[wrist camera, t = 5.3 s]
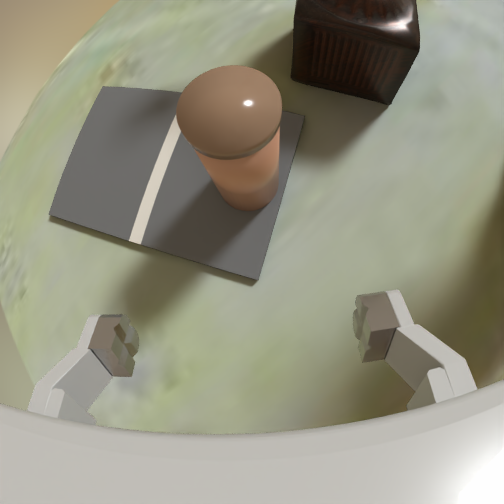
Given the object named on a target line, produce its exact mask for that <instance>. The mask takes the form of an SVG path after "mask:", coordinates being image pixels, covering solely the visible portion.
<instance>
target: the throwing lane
mask: <svg viewBox="0 0 504 504" xmlns="http://www.w3.org/2000/svg"><path fill="white" fill-rule="evenodd" d="M181 94H182V93H180V92H172V91H162V90H152V89H140V88H125V87H105V86H103V87H102V89H101V91H100V93H99V94H98V96H97V98H96V100H95V102H94V104H93V106H92V108H91V110H90V112H89V114H88V116H87V118H86V120H85V123H84V125H83V127H82V129H81V131H80V133H79V136H78V138H77V140H76V142H75V145H74V147H73V149H72V152H71V154H70V157H69V159H68V162H67V164H66V167H65V169H64V172H63V174H62V177H61V180H60V183H59V185H58V188H57V191H56V194H55V197H54V200H53V203H52V206H51V209H50V212H49V215H52V216H55V217H58V218H61V219H64V220H67V221H70V222H73V223H76V224H79V225H82V226H85V227H88V228H91V229H94V230H97V231H100V232H103V233H106V234H109V235H112V236H115V237H119V238H122V239H125V240H128V241H131V242H134V243H137V244H140V245H144V246H147V247H150V248H153V249H156V250H160V251H163V252H166V253H169V254H172V255H176V256H179V257H182V258H185V259H189V260H192V261H195V262H198V263H202V264H205V265H208V266H212V267H215V268H218V269H222V270H225V271H228V272H232V273H235V274H238V275H242V276H245V277H249V278H252V279H255V280H259V276H260V273H261V269H262V266H263V262H264V259H265V256H266V252H267V249H268V245H269V242H270V238H271V235H272V231H273V228H274V225H275V221H276V218H277V214H278V211H279V207H280V204H281V200H282V197H283V193H284V190H285V186H286V182H287V179H288V175H289V172H290V168H291V165H292V161H293V158H294V154H295V150H296V147H297V143H298V140H299V136H300V133H301V129H302V125H303V122H304V117H305V116H303V115H299V114H295V113H291V112H287V111H282V117H281V123H280V138H279V186H278V190H277V193H276V195H275V197H274V198H273V199H272V201H271V202H270V203H269V204H267V205H266V206H264V207H263V208H260V209H258V210H254V211H242V210H238V209H235V208H233V207H231V206H230V205H229V204H228V203H226V201H225V200H224V199H223V197H222V196H221V194H220V192H219V191H218V189H217V187H216V186H215V184H214V182H213V181H212V179H211V177H210V175H209V174H208V172H207V170H206V169H205V167H204V165H203V164H202V162H201V160H200V158H199V157H198V155H197V153H196V152H195V150H194V148H192V146H191V145H190V144H189V143H188V142H187V140H186V138H185V137H184V135H183V134H182V132H181V130H180V128H179V126H178V123H177V119H176V108H177V104H178V101H179V98H180V96H181Z"/></svg>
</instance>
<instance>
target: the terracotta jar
mask: <svg viewBox="0 0 504 504" xmlns="http://www.w3.org/2000/svg"><path fill="white" fill-rule="evenodd" d="M281 117H282V100H281V95H280V92H279V90H278V88H277V86H276V85H275V83H274V82H273V81H272V80H271V79H270V78H269V77H268V76H267V75H265V74H264V73H262V72H260V71H258V70H256V69H253V68H250V67H246V66H238V65H230V66H223V67H218V68H215V69H211V70H209V71H207V72H205V73H203V74H201V75H199V76H198V77H197V78H195V79H194V80H193V81H192V82H190V83H189V85H188V86H187V87H186V88H185V89H184V91H183V92H182V94H181V96H180V98H179V101H178V104H177V108H176V119H177V123H178V126H179V128H180V130H181V132H182V134H183V135H184V137H185V138H186V140H187V142H188V143H189V144H190V145H191V146H192V148H194V150H195V152H196V153H197V155H198V157H199V158H200V160H201V162H202V164H203V165H204V167H205V169H206V170H207V172H208V174H209V175H210V177H211V179H212V181H213V182H214V184H215V186H216V187H217V189H218V191H219V192H220V194H221V196H222V197H223V199H224V200H225V201H226V203H228V204H229V205H230V206H231V207H233V208H235V209H238V210H242V211H254V210H258V209H260V208H263V207H264V206H266V205H267V204H269V203H270V202H271V201H272V199H273V198H274V197H275V195H276V193H277V190H278V186H279V138H280V123H281Z"/></svg>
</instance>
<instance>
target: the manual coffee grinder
mask: <svg viewBox="0 0 504 504" xmlns="http://www.w3.org/2000/svg"><path fill="white" fill-rule="evenodd" d="M419 49H420V31H419V23H418V13H417V5H416V0H296V7H295V14H294V32H293V59H292V69H291V79H292V80H294V81H297V82H300V83H303V84H306V85H309V86H314V87H318V88H322V89H327V90H331V91H335V92H339V93H343V94H347V95H351V96H355V97H360V98H364V99H368V100H372V101H376V102H380V103H383V104H387V105H390V104H391V103H392V101H393V99H394V97H395V95H396V94H397V92H398V90H399V88H400V86H401V85H402V83H403V81H404V79H405V78H406V76H407V74H408V72H409V70H410V68H411V66H412V64H413V62H414V60H415V58H416V57H417V55H418V53H419Z"/></svg>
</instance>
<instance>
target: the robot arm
mask: <svg viewBox="0 0 504 504" xmlns="http://www.w3.org/2000/svg"><path fill="white" fill-rule="evenodd" d="M355 304H356V307H357V309H356V310H355V311H354V313H353V328H354V333H355V337H356V338H357V339H359V340H360V342H359V346H358V348H359V352H360V356H361V360H362V363H363V362H370V361H377V360H383V359H385V361H386V362H387V363H388V364H389V365H390V366H391V367H392V368H393V369H394V370H395V371H396V372H397V373H398V374H399V375H400V376H401V377H402V378H403V379H404V381H405V382H406V383H407V384H408V385H409V386H410V387H411V388H412V389H413V390H414V391H415V393H414V395H413V396H412V398H411V399H410V401H409V402H408V404H407V405H406V407H407V410H408V411H404V412H400V413H396V414H392V415H387V416H383V417H378V418H373V419H368V420H363V421H357V422H351V423H346V424H339V425H333V426H326V427H318V428H310V429H301V430H291V431H280V432H266V433H246V434H184V433H164V432H150V431H139V430H129V429H121V428H113V427H105V426H99V425H96V419H95V417H93V416H92V415H91V414H90V413H89V412H87V410H88V409H89V408H90V406H91V405H92V404H93V402H94V401H95V400H96V399H97V397H98V396H99V395H100V393H101V392H102V391H103V390H104V388H105V387H106V386H107V385H108V383H109V382H110V381H111V379H112V378H113V377H112V376H117V377H132V374H133V369H134V365H135V361H134V359H133V356H134V355H135V354H136V353H137V352H138V348H139V337H138V334H137V332H136V330H135V328H133V327H132V326H130V325H129V324H130V319H129V318H128V316H127V315H90V316H89V317H88V319H87V321H86V324H85V326H84V329H83V332H82V334H81V337H80V339H79V342H78V345H77V347H76V349H72V350H71V351H70V352H69V353H68V354H67V355H66V356H65V357H64V358H63V359H61V360H60V361H59V362H58V363H57V364H56V365H55V366H54V367H53V368H52V369H51V370H50V371H49V372H48V373H47V374H46V375H45V376H44V377H43V378H42V379H41V380H40V381H39V382H38V383H37V384H36V386H35V388H34V391H33V394H32V397H31V400H30V403H29V406H28V409H27V411H26V410H22V409H18V408H15V407H11V406H8V405H4V404H1V403H0V504H504V379H503V380H501V381H498V382H496V383H493V384H491V385H488V386H485V387H483V388H480V389H477V387H476V384H475V382H474V379H473V377H472V374H471V372H470V369H469V367H468V365H467V362H466V360H465V359H464V358H463V357H462V356H460V355H459V354H458V353H456V352H455V351H454V350H452V349H451V348H450V347H448V346H447V345H446V344H444V343H443V342H442V341H440V340H439V339H438V338H436V337H435V336H434V335H432V334H431V333H430V332H428V331H427V330H426V329H424V328H423V327H422V326H420V325H419V324H414V322H413V320H412V317H411V315H410V313H409V310H408V308H407V306H406V304H405V301H404V299H403V297H402V295H401V293H400V291H399V290H398V289H397V290H391V291H385V292H376V293H369V294H362V295H357V297H356V301H355Z"/></svg>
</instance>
